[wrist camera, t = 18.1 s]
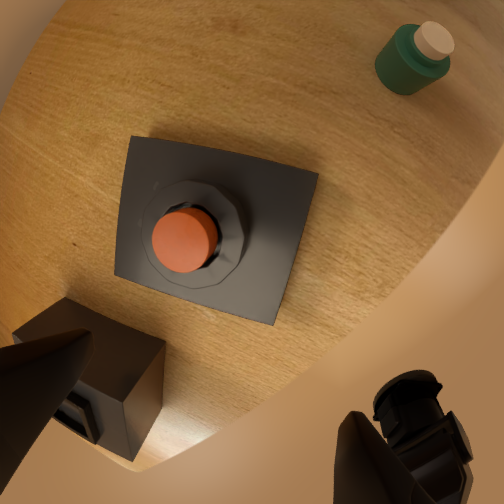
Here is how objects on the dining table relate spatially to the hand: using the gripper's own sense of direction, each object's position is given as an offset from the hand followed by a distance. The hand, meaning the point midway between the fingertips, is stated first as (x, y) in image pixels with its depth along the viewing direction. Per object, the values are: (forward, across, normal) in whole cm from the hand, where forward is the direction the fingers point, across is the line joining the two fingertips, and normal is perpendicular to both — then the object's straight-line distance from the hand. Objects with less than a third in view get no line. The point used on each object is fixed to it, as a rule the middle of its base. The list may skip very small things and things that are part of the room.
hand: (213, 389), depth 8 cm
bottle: (+12, -6, -16) cm, 21 cm away
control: (+12, +4, -2) cm, 13 cm away
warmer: (+12, +12, +14) cm, 22 cm away
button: (+8, +4, -2) cm, 9 cm away
